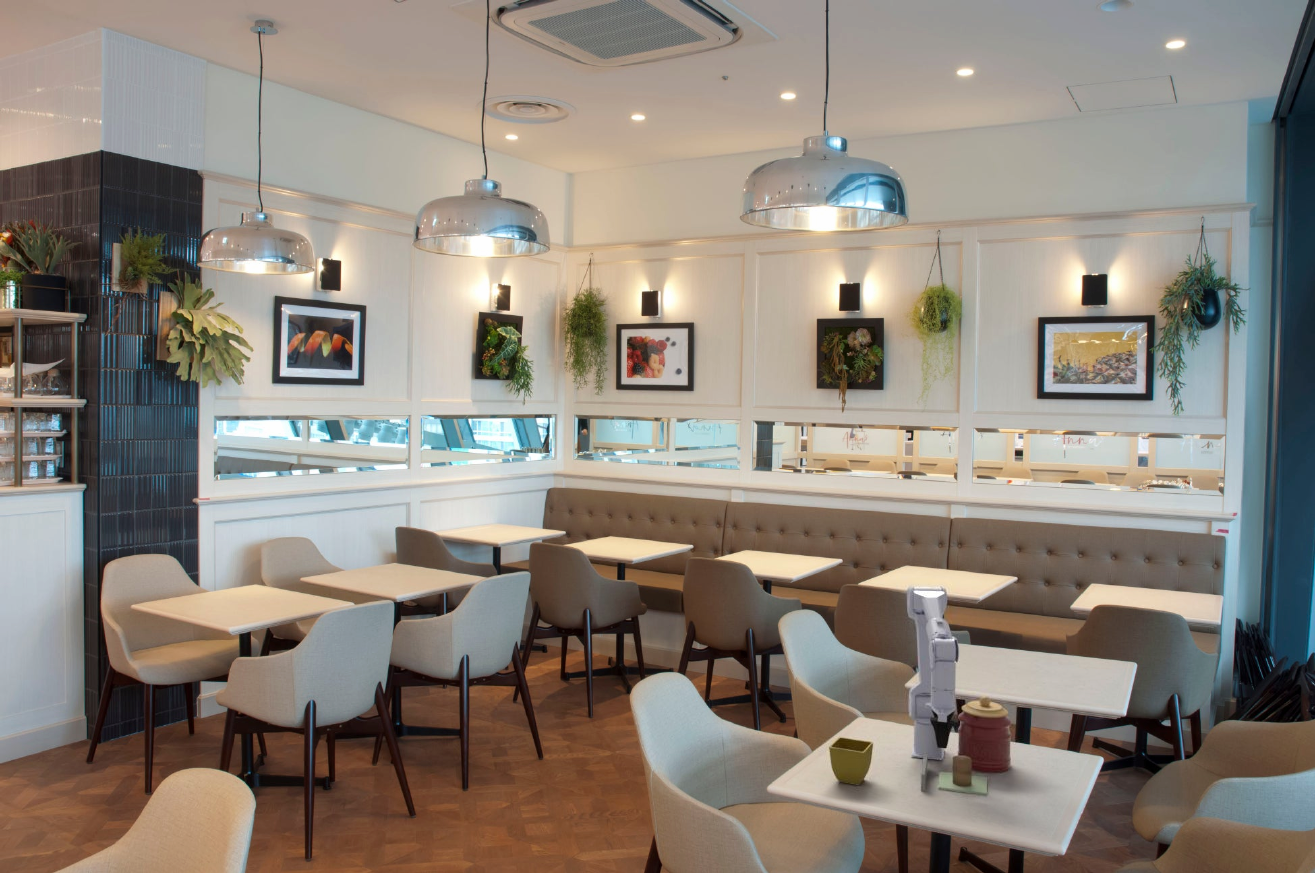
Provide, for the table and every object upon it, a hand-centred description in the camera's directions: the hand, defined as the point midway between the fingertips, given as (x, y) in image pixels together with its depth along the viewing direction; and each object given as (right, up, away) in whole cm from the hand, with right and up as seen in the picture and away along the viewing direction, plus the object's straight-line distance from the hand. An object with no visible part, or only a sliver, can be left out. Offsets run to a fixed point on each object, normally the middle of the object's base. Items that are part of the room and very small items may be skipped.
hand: (942, 742), depth 236 cm
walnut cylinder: (+4, -9, -3) cm, 10 cm away
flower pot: (-23, -9, -1) cm, 24 cm away
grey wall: (-4, -9, +1) cm, 10 cm away
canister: (+14, -10, +11) cm, 21 cm away
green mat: (+4, -9, -2) cm, 11 cm away
